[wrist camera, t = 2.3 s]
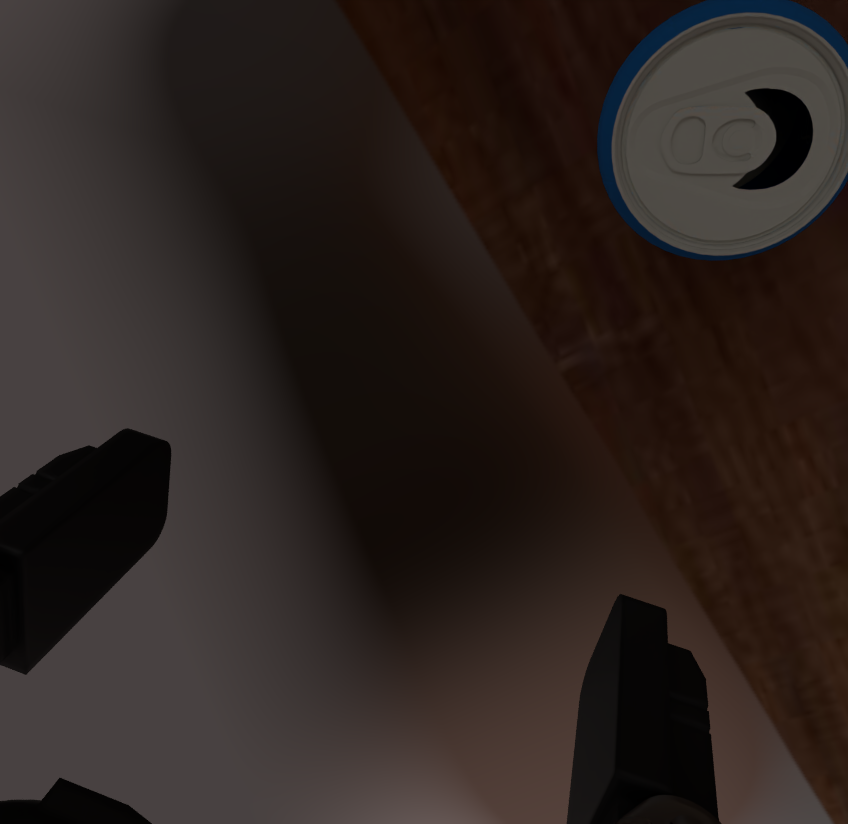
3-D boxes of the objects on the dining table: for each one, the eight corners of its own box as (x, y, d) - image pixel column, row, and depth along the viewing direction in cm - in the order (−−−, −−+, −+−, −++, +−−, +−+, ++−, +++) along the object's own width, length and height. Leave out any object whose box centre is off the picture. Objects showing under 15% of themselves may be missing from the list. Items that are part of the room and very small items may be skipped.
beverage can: (780, 196, 30) (850, 277, 20) (607, 193, 32) (586, 268, 21) (810, 6, 27) (909, -17, 17) (619, 13, 29) (602, -3, 18)
